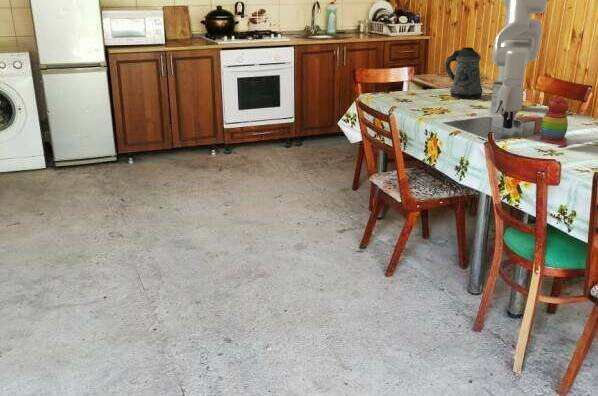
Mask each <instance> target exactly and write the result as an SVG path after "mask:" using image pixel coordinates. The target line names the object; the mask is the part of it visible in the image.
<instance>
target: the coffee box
mask: <svg viewBox="0 0 598 396" xmlns="http://www.w3.org/2000/svg"><path fill="white" fill-rule="evenodd" d="M502 84H503V81H499V82H497V81H493V83H492V91H491V92H492V93H491V94H492V95H491V100H490V101H491V103H490V110H489V111H490V113H489V115H490V117H493V114H494V113H499V110H497V109H496V106H497V99H498V94H499V91H500V88H501V86H502Z"/></svg>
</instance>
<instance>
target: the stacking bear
mask: <svg viewBox="0 0 598 396" xmlns="http://www.w3.org/2000/svg"><path fill="white" fill-rule="evenodd" d="M547 107H548V111H547V112H546V113H545V114H544V116H543V117H542V123H541V130H540V132H541V134H540V135H541V137H540V138H539V141H540V142H542V143H546V144H550V145H555V146H557V148H562V149H563V148H567V147H568V143H567V141H568V138H566V137H565V136H566V134H567V131H568V127H569V123H568V115H567V112H568V110H569V109H570V107H571V106H570V104H569V103H568V102H567V101H566V98H564V97H559V95H556V96H554V97H552V98H551V99H550V100H549V102H548V106H547Z"/></svg>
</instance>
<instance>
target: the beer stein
mask: <svg viewBox="0 0 598 396" xmlns="http://www.w3.org/2000/svg"><path fill="white" fill-rule="evenodd" d="M481 59H482V56H481V55H480V54H479V53H478V52H477V51H475V50H474V47H469V46H467V47H462V49H459V50H454V52H453V53H452V55H450V56H449V57H447V58H446V59H445V62H444V69H445V71H446V73H447V76H448V77H449V78H450V79H451V80H452V81H453V82H452V85H451V88H450V91H449V93H450V97H451V96H452V97H451V98H453V97H454V98H453V99H457V98H458V100H478V99H481V98H482V95H483V88H482V84H481V83H482V82H481V72H480V71H481V70H480V61H481ZM451 62H457V63H456V69H455V73H453V71H452V69H451V67H450V65H451Z"/></svg>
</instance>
